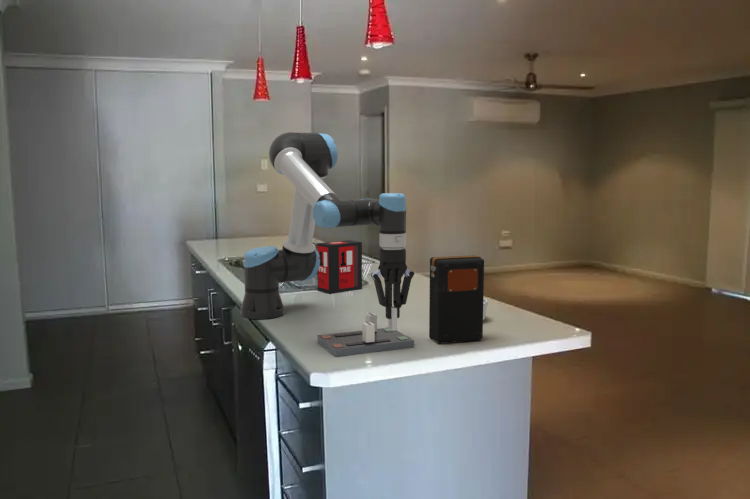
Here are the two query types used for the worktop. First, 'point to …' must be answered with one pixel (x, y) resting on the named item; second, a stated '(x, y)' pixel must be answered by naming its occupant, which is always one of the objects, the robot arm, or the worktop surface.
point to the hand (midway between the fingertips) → (392, 329)
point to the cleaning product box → (339, 266)
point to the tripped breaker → (368, 332)
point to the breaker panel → (355, 345)
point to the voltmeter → (456, 298)
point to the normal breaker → (371, 319)
